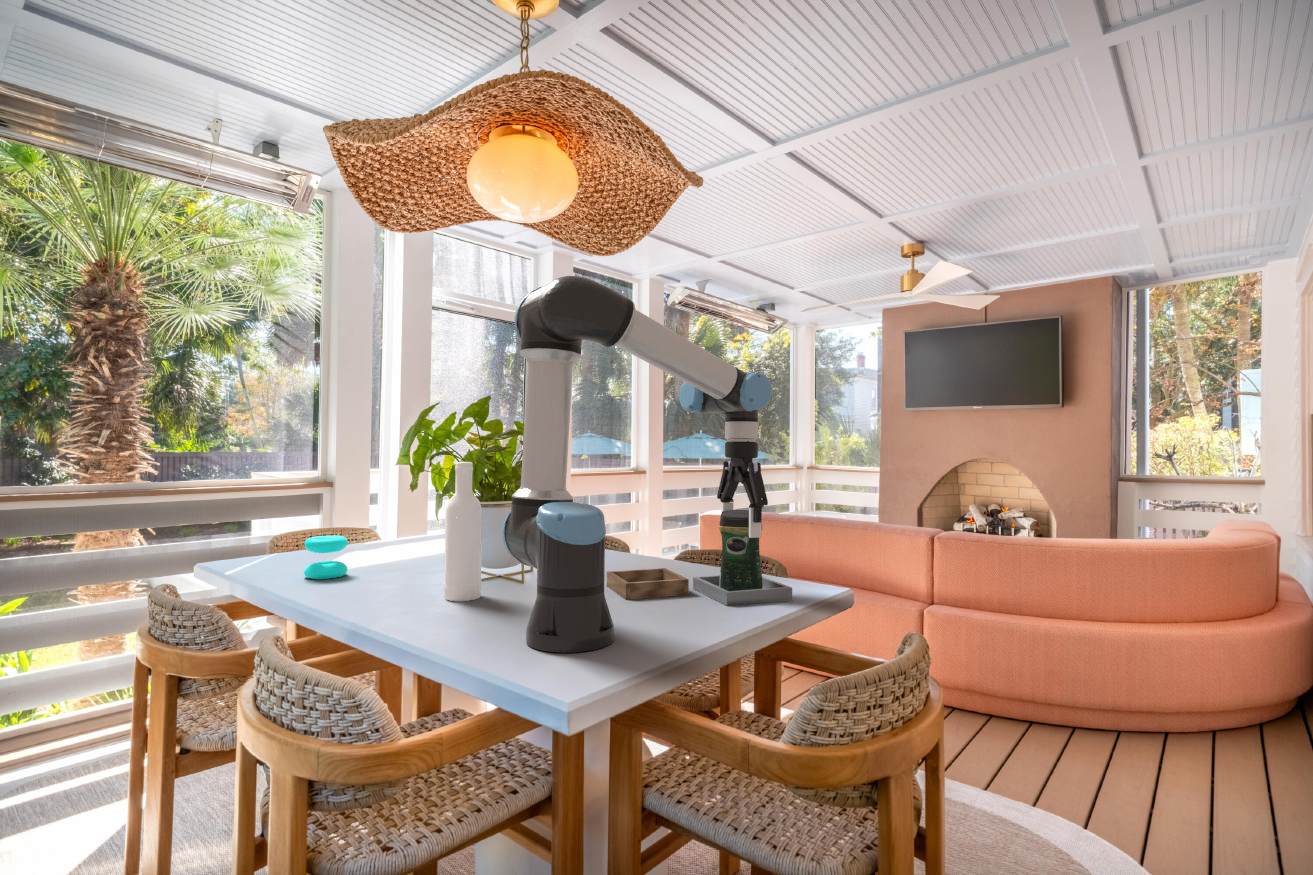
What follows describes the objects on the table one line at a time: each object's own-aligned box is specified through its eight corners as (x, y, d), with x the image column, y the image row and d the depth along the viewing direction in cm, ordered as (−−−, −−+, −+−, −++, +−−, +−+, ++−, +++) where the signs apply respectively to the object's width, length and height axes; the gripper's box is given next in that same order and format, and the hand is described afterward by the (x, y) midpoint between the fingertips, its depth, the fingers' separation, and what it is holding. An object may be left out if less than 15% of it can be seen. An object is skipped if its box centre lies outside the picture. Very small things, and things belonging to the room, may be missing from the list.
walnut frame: (625, 599, 148) (625, 583, 148) (606, 586, 162) (606, 571, 162) (688, 594, 153) (688, 579, 153) (664, 582, 167) (664, 567, 167)
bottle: (474, 592, 155) (476, 461, 155) (486, 598, 148) (487, 462, 148) (439, 596, 150) (441, 461, 151) (449, 603, 144) (451, 462, 144)
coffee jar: (765, 589, 156) (765, 508, 156) (757, 596, 148) (757, 512, 149) (725, 585, 159) (725, 507, 160) (715, 592, 152) (715, 510, 152)
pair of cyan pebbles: (302, 536, 174) (345, 533, 179) (302, 575, 174) (344, 571, 179) (306, 541, 165) (350, 538, 171) (305, 581, 165) (350, 577, 171)
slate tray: (726, 605, 143) (726, 592, 143) (693, 588, 160) (693, 576, 160) (792, 600, 148) (792, 587, 148) (752, 584, 165) (753, 572, 165)
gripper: (784, 440, 144) (783, 540, 144) (731, 441, 167) (730, 526, 167) (753, 440, 141) (752, 541, 141) (704, 440, 165) (703, 527, 165)
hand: (740, 533), depth 154 cm, fingers open, 13 cm apart
